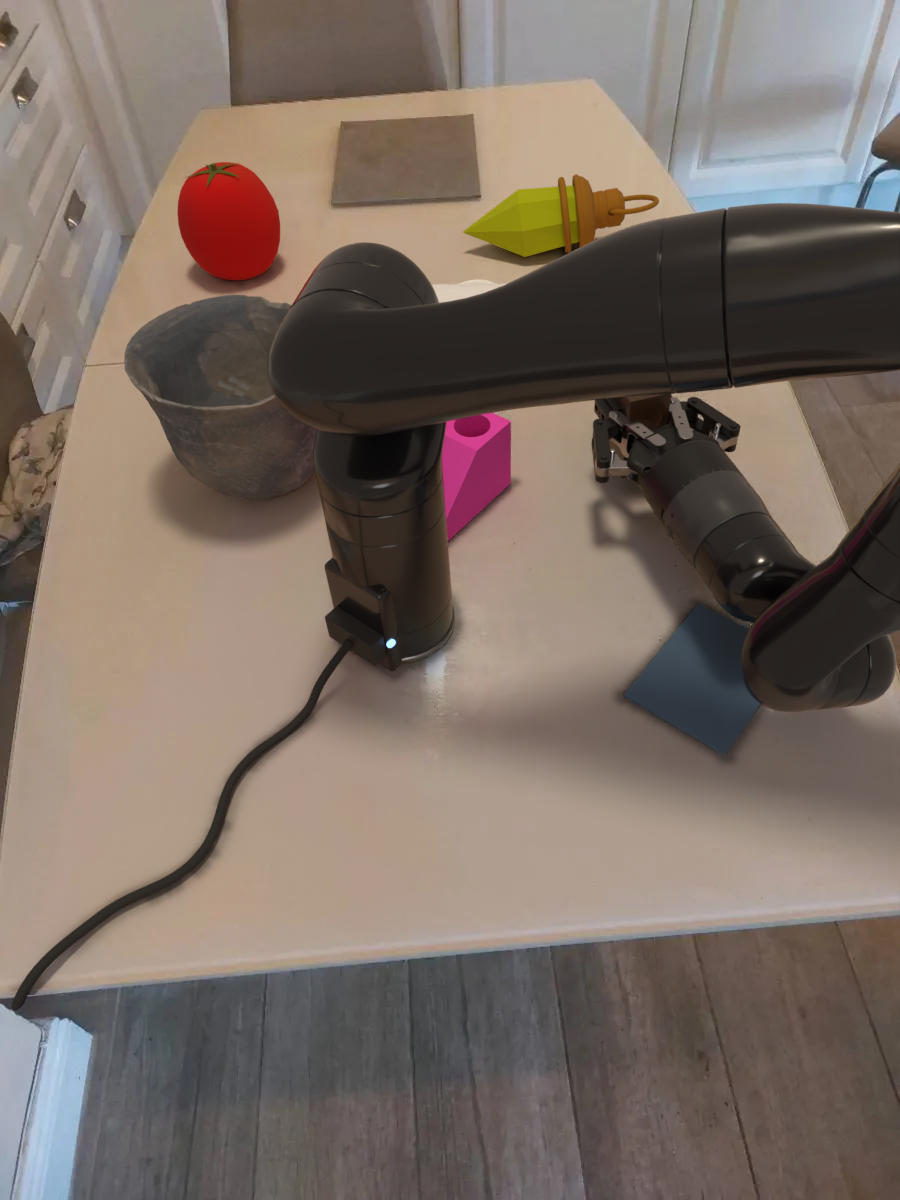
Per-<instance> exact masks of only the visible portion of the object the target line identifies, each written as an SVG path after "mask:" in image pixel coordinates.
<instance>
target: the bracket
mask: <svg viewBox="0 0 900 1200" xmlns="http://www.w3.org/2000/svg"><path fill="white" fill-rule="evenodd" d="M442 464H443V482H444V496H445V511H446V524H447V538H448V542H449V541H450V540H451V539H452V538H453V537H454V536H456V535H457V534H458V533H459V532H460V531H461V530H462V529H464V527H465V526H467V525H468V523H469V522H470V521H472V520H473V519H474V518H475V517H476V516H477V515H479V513H480V512H481V511H483V509H485V508H486V507H487V506H488V505H489V504H491V502H492V501H493V500H494V499H495V498H496V497H498V496H499V495H500V494H501V493H502V492H503V491H504V490H505V489H506V488H507V487H508V486H509V485H510V484H511V483H512V421H511V420H510V419H508V418H505V417H503V416H501V415H498V414H496V413H495V412H493V413H487V414H482V415H477V416H472V417H466V418H462V419H457V420H452V421H447V422H446V431H445V437H444V444H443V451H442Z"/></svg>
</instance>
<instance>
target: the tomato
mask: <svg viewBox="0 0 900 1200" xmlns="http://www.w3.org/2000/svg"><path fill="white" fill-rule="evenodd" d="M184 179H185V180H184V183H183V184H182V187H181V188H180V190H179V191H180V192H179V196H178V200H177V213H176V214H177V223H178V228H179V233H180V237H181V239H182V241H183V243H184V246H185V248H186V249H187V252H188V253H189V255H190V256H191V258H192V259H193V260H194V261H195V262H196V264H197V265H198V266H199V267H200V268H201V269H202V270H203V271H205V272H206V273H207V274H209V275H211V276H212V277H215V278H217V279H220V280H227V281H229V280H230V281H246V280H250V279H254V278H256V277H258V276H260V275H262V274H264V273H266V271H267V270H268V269H269V268H270V267H271V266H272V265H273V263H274V261H275V260H276V258H277V255H278V252H279V248H280V242H281V219H280V213H279V208H278V206H277V204H276V201H275V198H274V197H273V195H272V194H271V192H270V190H269V189H268V187H267V186H266V184H265V183H264V182H263V180H262V179H261V177H259V176H258V175H257V174H256V173H255V172H254V171H253V170H252V169H249V168H248V167H246V165H245V166H244V165H243V164H241V163H238V162H230V161H228V162H227V161H219V162H212V163H210V164H205V166H203V167H201V168H199V169H197V170H196V171H194V172H193V173H191V174H190V175H189V176H185V177H184Z"/></svg>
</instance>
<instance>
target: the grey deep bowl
mask: <svg viewBox="0 0 900 1200" xmlns="http://www.w3.org/2000/svg"><path fill="white" fill-rule="evenodd" d="M291 305H292V304H290V303H288V302H273V301H270V300H268V299H266V298H265V297H263V296H252V295H251V296H250V295H245V294H224V295H219V296H214V297H208V298H204V299H200V300H196V301H192V302H191V303H184V304H181V305H179V306H176V307H174V308H172V309H169V310H167V311H165V312H163V313H161V314H159V315H158V316H155V318H153V319H151V320H149V321H148V322H147V323H145V324H144V325H142V326H141V327H140V328H139V329H138V330H137V331H136V332H135V333H134V334H133V335H132V336H131V337H130V339H129V341H128V343H127V344H126V347H125V351H124V358H123V359H124V360H123V362H124V363H123V364H124V371H125V373H126V376H127V377H128V379H129V381H130V383H132V385H133V386H134V387H135V388H136V389H137V390H138V391H139V392H140V393H141V395H142V396H143V397H144V399H145V400H146V401H147V403H148V404H149V406H150V408H151V409H152V411H153V413H154V414H155V415H156V417H157V418H158V420H159V423H160V426H161V427H162V429H163V432H164V435H165V437H166V440H167V442H168V443H169V445H170V448H171V450H172V452H173V455H174V456H175V458H176V459H177V461H178V462H179V463H180V465H182V466H183V467H184V469H185V470H186V471H187V472H188V473H189V474H190V475H191V476H192V477H193V478H194V479H195V480H197V481H198V482H200V483H201V484H202V485H204V486H206V487H207V488H208V489H211V490H212V491H214V492H216V493H218V494H221V495H224V496H226V497H230V498H233V499H239V500H243V501H244V500H245V501H264V500H270V499H275V498H276V497H281V496H283V495H286V494H289V493H291V492H293V491H295V490H297V489H298V488H300V487H301V486H302V485H304V484H305V483H306V482H308V480H309V479H311V477H312V476H313V475H315V471H314V465H313V446H314V441H315V436H316V431H317V429H315V428H313V427H311V426H308V425H306V424H304V423H303V422H301V421H299V420H298V419H296V418H295V417H293V416H292V415H291V414H290V413H289V412H288V411H287V410H286V409H285V408H284V407H283V406H281V404H280V403H279V402H278V400H277V399H276V397H275V395H274V393H273V391H272V389H271V386H270V383H269V377H268V357H269V353H270V349H271V345H272V342H273V339H274V337H275V334H276V332H277V329H278V327H279V325H280V324H281V322H282V320H283V319H284V317H285V315H286V313H287V312H288V310H289V309H290V307H291Z"/></svg>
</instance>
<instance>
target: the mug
mask: <svg viewBox="0 0 900 1200" xmlns="http://www.w3.org/2000/svg"><path fill="white" fill-rule="evenodd" d="M506 284H507V283H497V282H495V281H492V280H489V279H481V278H479V279H478V278H475V279H468V280H464V281H461V282H458V283H431V285H432V287H433V289H434V291H435V293H436V295H437V298H438V301H439V303H441V302H448V301H453V300H459V299H464V298H468V297H471V296H475V295H478V294H482V293H485V292H488V291H490V290H493V289H496V288H498V287H501V286H503V285H506Z"/></svg>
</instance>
